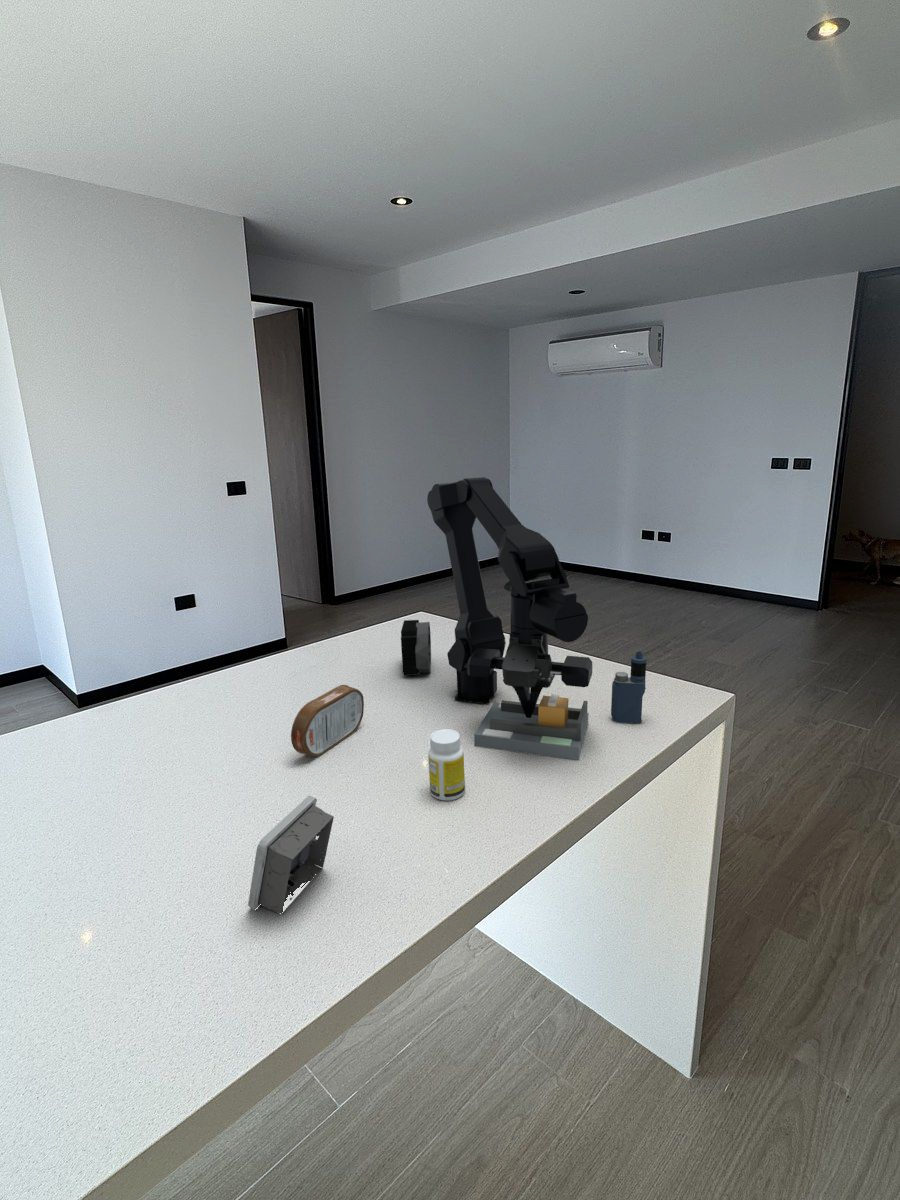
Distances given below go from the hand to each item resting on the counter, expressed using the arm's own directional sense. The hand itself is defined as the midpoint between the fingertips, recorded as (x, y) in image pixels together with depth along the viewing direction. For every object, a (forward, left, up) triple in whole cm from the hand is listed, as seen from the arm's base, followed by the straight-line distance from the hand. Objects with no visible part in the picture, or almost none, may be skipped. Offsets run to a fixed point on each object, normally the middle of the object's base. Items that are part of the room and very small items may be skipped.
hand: (529, 716), depth 100 cm
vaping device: (+15, +9, -3) cm, 17 cm away
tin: (-29, -11, -3) cm, 32 cm away
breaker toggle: (+4, 0, -1) cm, 4 cm away
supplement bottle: (-7, -19, -3) cm, 21 cm away
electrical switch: (-17, -41, -3) cm, 45 cm away
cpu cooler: (-27, +21, -3) cm, 35 cm away
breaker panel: (+1, 0, -3) cm, 3 cm away
